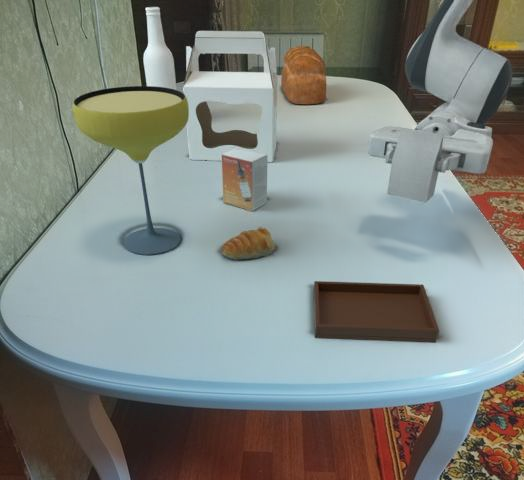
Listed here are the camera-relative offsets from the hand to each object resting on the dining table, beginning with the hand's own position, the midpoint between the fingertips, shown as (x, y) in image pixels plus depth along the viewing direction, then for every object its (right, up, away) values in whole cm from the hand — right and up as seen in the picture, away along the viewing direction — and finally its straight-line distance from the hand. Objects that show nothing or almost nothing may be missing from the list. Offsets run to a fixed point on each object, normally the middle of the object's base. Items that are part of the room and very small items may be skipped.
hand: (414, 163), depth 81 cm
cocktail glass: (-45, -9, +15) cm, 49 cm away
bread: (-10, +63, +105) cm, 123 cm away
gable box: (-32, +23, +55) cm, 68 cm away
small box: (-28, +2, +29) cm, 41 cm away
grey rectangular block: (0, -4, +4) cm, 6 cm away
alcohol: (-55, +42, +79) cm, 105 cm away
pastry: (-27, -12, +12) cm, 32 cm away
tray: (-8, -25, -4) cm, 26 cm away
